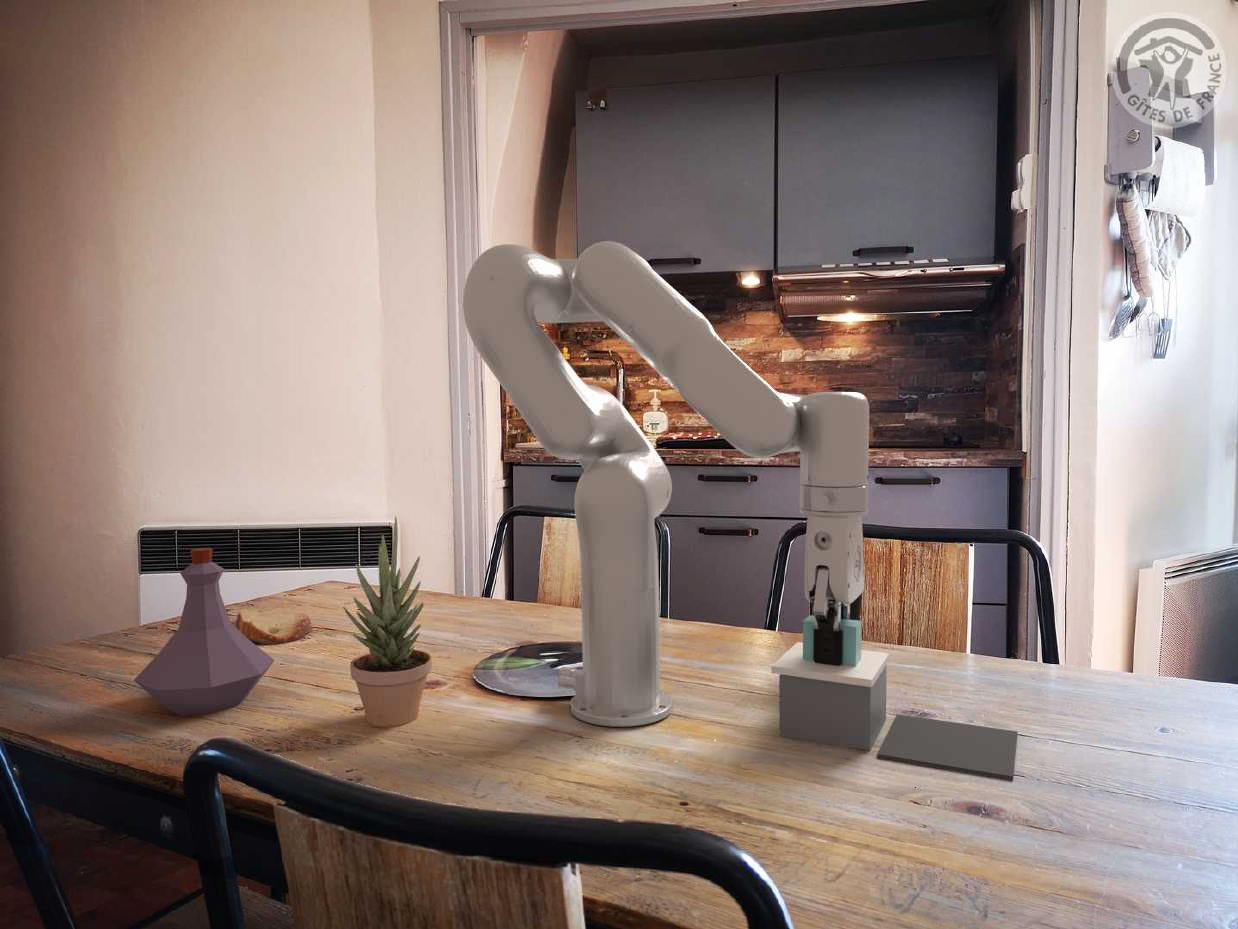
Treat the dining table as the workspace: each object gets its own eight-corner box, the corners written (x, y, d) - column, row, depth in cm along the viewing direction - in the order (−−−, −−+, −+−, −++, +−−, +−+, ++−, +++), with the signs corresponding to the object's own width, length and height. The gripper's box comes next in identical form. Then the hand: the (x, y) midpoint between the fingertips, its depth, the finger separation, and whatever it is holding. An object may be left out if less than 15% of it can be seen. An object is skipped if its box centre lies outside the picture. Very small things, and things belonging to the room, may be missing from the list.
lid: (771, 681, 95) (771, 626, 95) (797, 656, 105) (797, 606, 104) (871, 696, 90) (872, 638, 90) (889, 668, 100) (889, 615, 99)
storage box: (779, 735, 96) (779, 675, 95) (802, 708, 104) (802, 652, 104) (870, 750, 91) (870, 687, 91) (886, 720, 100) (886, 662, 100)
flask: (302, 687, 115) (297, 541, 114) (214, 731, 99) (207, 562, 98) (202, 678, 120) (196, 538, 118) (103, 719, 104) (94, 558, 103)
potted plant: (403, 737, 97) (397, 523, 95) (335, 727, 100) (328, 520, 99) (450, 708, 106) (445, 512, 105) (386, 700, 109) (380, 510, 108)
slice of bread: (249, 618, 157) (249, 598, 156) (340, 621, 154) (340, 600, 154) (185, 645, 139) (184, 622, 139) (287, 648, 136) (286, 625, 136)
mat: (877, 757, 89) (877, 753, 89) (896, 717, 101) (896, 714, 101) (1012, 780, 83) (1012, 776, 83) (1017, 734, 95) (1017, 731, 95)
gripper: (852, 510, 87) (849, 684, 88) (880, 495, 102) (878, 645, 103) (781, 506, 91) (779, 675, 92) (818, 493, 105) (816, 638, 106)
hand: (831, 658), depth 97 cm, fingers closed on lid, 3 cm apart
